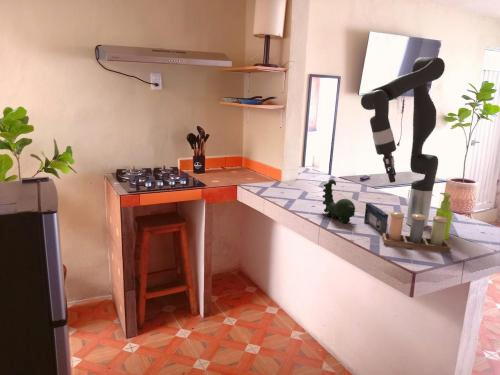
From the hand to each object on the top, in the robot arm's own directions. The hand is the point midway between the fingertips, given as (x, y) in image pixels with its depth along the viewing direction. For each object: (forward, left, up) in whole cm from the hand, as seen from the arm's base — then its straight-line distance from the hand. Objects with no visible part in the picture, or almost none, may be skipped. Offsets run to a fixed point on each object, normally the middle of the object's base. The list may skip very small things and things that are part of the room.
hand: (393, 178), depth 155 cm
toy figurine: (-20, -20, -26) cm, 38 cm away
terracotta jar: (+9, +2, -24) cm, 26 cm away
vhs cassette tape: (-9, -4, -26) cm, 28 cm away
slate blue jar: (+9, +10, -24) cm, 27 cm away
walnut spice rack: (+9, +10, -25) cm, 29 cm away
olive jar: (+9, +18, -24) cm, 31 cm away
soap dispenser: (-5, +22, -26) cm, 34 cm away
